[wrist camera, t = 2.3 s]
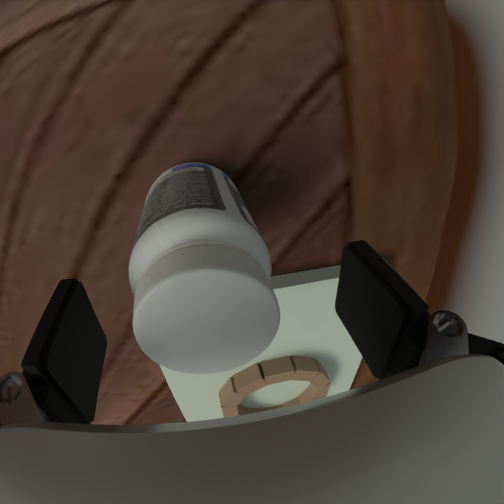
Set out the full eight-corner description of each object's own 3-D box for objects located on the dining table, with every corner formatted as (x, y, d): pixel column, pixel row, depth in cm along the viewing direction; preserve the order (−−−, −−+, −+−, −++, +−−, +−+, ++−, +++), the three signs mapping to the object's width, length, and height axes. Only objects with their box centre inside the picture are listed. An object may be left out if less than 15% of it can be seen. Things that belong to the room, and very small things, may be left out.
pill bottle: (134, 231, 14) (104, 364, 7) (166, 146, 12) (142, 227, 6) (217, 258, 16) (246, 390, 9) (256, 182, 14) (327, 286, 7)
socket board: (138, 295, 16) (134, 334, 14) (382, 257, 19) (408, 284, 16) (199, 438, 28) (203, 462, 25) (332, 410, 31) (342, 431, 28)
